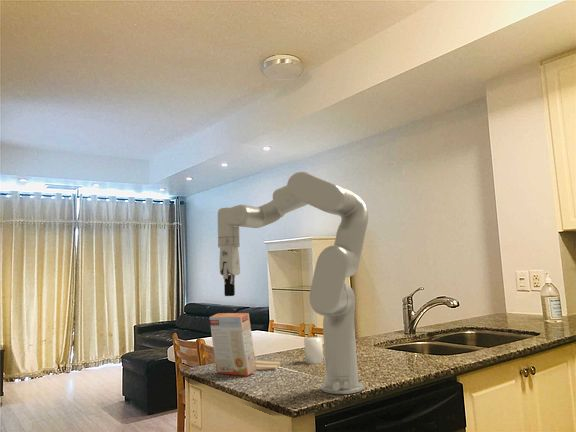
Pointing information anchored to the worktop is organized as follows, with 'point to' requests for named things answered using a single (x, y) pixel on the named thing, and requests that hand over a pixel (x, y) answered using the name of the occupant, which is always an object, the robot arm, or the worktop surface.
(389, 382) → the worktop surface
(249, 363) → the cracker box
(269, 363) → the cork board
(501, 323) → the worktop surface
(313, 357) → the white rounded block
